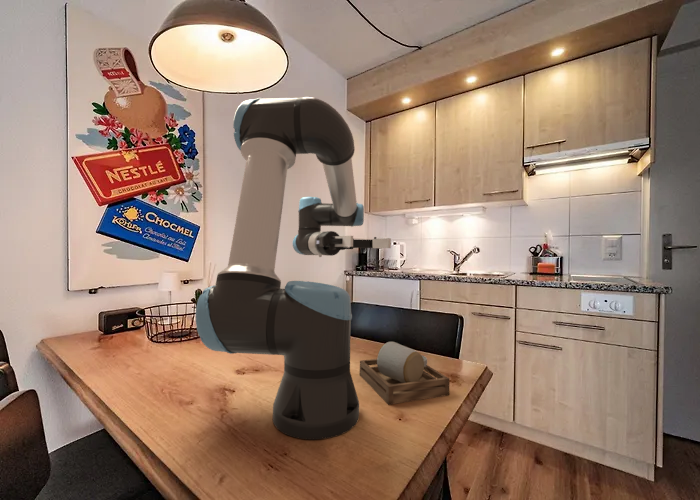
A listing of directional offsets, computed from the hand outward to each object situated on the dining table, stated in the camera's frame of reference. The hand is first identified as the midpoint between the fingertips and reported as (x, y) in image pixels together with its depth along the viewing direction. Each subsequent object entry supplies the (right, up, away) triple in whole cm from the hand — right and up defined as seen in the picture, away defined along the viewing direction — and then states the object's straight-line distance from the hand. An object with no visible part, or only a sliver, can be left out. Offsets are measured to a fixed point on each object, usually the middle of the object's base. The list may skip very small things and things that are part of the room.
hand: (372, 242), depth 82 cm
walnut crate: (+6, -32, -13) cm, 35 cm away
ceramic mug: (+7, -30, -11) cm, 33 cm away
